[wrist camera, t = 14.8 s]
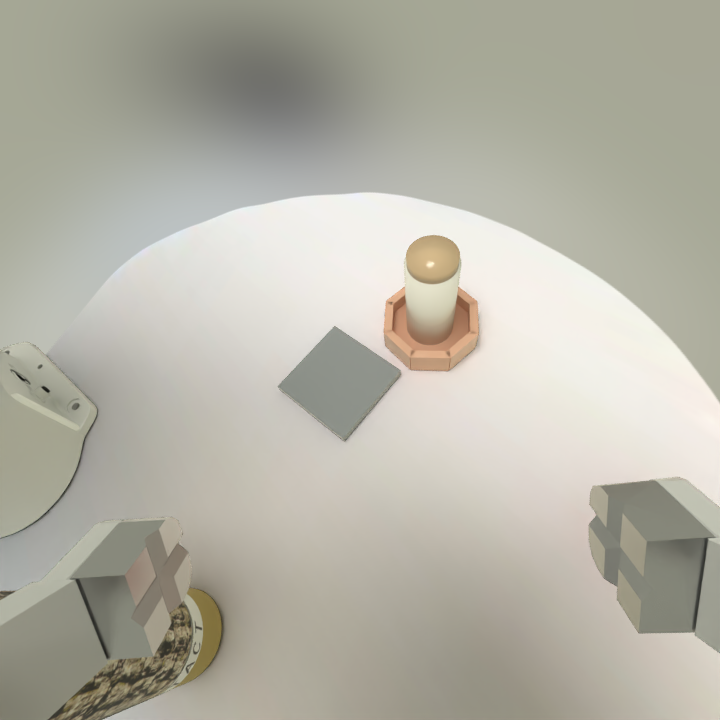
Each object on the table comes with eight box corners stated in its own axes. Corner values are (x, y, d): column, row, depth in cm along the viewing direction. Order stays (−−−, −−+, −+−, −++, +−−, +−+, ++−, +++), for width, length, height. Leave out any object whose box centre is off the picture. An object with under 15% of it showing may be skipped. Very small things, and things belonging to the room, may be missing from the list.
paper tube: (130, 644, 36) (-321, 740, 14) (186, 570, 38) (-128, 553, 16) (184, 705, 34) (-256, 933, 12) (241, 622, 36) (-39, 684, 14)
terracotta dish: (368, 330, 47) (366, 316, 45) (430, 281, 49) (431, 265, 47) (429, 387, 44) (429, 376, 41) (493, 331, 46) (498, 317, 43)
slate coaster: (280, 390, 45) (277, 386, 44) (336, 330, 48) (334, 326, 47) (344, 441, 42) (342, 438, 41) (400, 374, 45) (400, 370, 44)
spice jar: (397, 325, 46) (391, 255, 36) (429, 298, 47) (433, 224, 37) (429, 353, 44) (432, 288, 34) (462, 325, 45) (474, 254, 35)
